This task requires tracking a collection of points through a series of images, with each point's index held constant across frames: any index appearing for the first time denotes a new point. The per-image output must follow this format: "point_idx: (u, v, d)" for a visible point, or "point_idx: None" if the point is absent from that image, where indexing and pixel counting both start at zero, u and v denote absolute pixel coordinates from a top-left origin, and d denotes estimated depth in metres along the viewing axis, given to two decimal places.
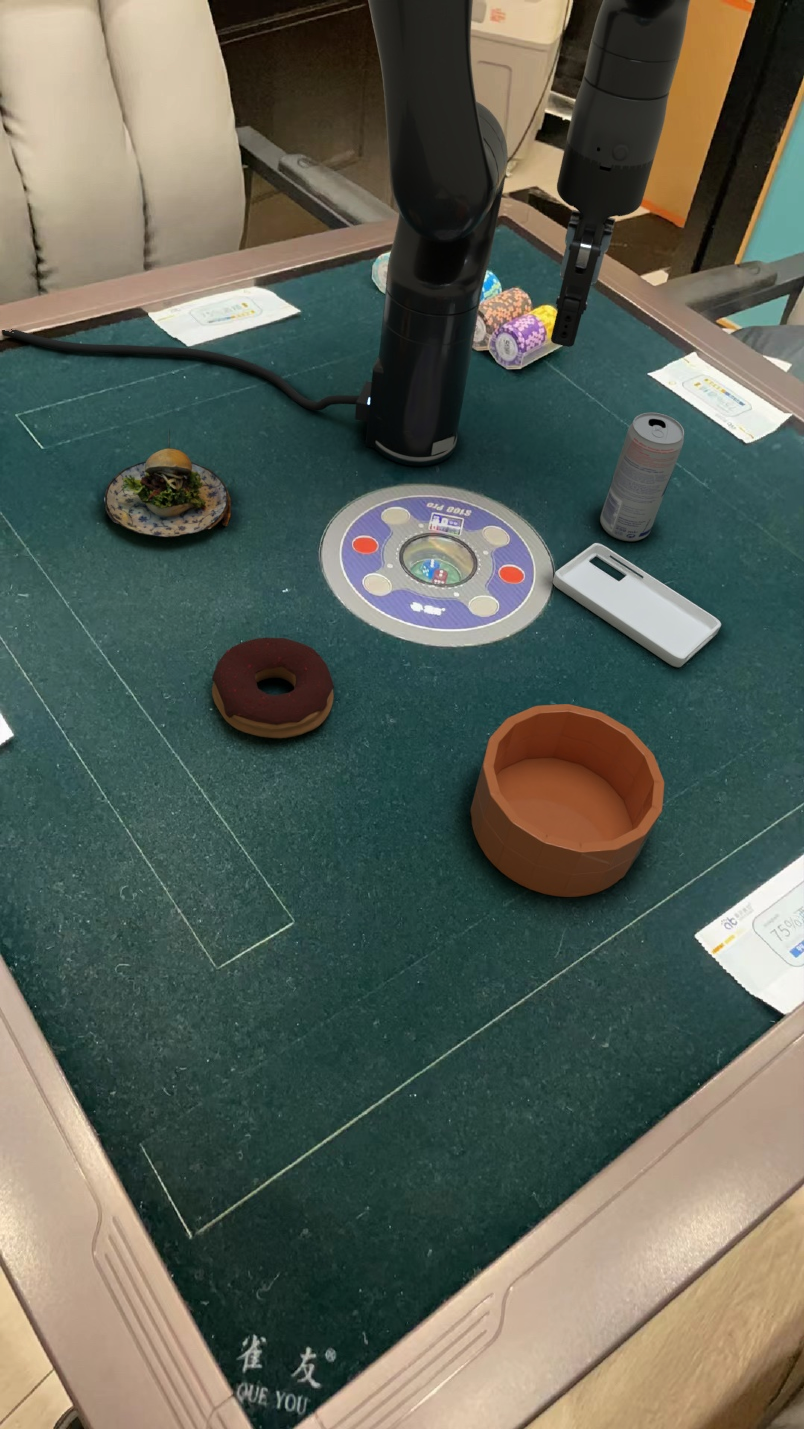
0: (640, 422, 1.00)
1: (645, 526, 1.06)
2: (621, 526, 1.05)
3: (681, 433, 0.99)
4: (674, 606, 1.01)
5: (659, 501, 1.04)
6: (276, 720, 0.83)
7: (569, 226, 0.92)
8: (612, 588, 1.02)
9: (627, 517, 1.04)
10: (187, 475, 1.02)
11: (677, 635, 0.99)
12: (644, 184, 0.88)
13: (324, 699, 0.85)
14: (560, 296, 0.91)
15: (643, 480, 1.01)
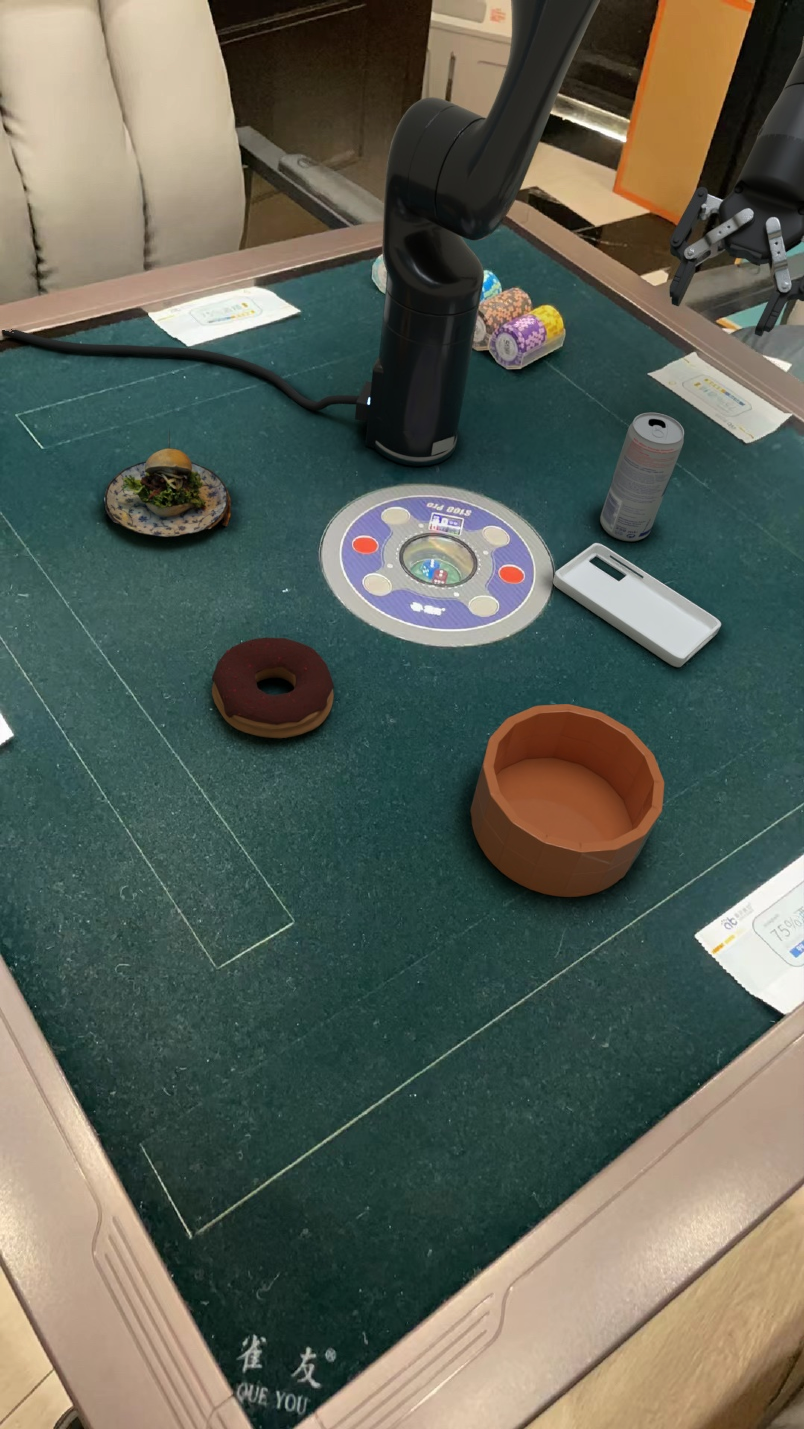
0: (640, 422, 1.00)
1: (645, 526, 1.06)
2: (621, 526, 1.05)
3: (681, 433, 0.99)
4: (674, 606, 1.01)
5: (659, 501, 1.04)
6: (276, 720, 0.83)
7: None
8: (612, 588, 1.02)
9: (627, 517, 1.04)
10: (187, 475, 1.02)
11: (677, 635, 0.99)
12: (772, 155, 0.96)
13: (324, 699, 0.85)
14: None
15: (642, 480, 1.01)
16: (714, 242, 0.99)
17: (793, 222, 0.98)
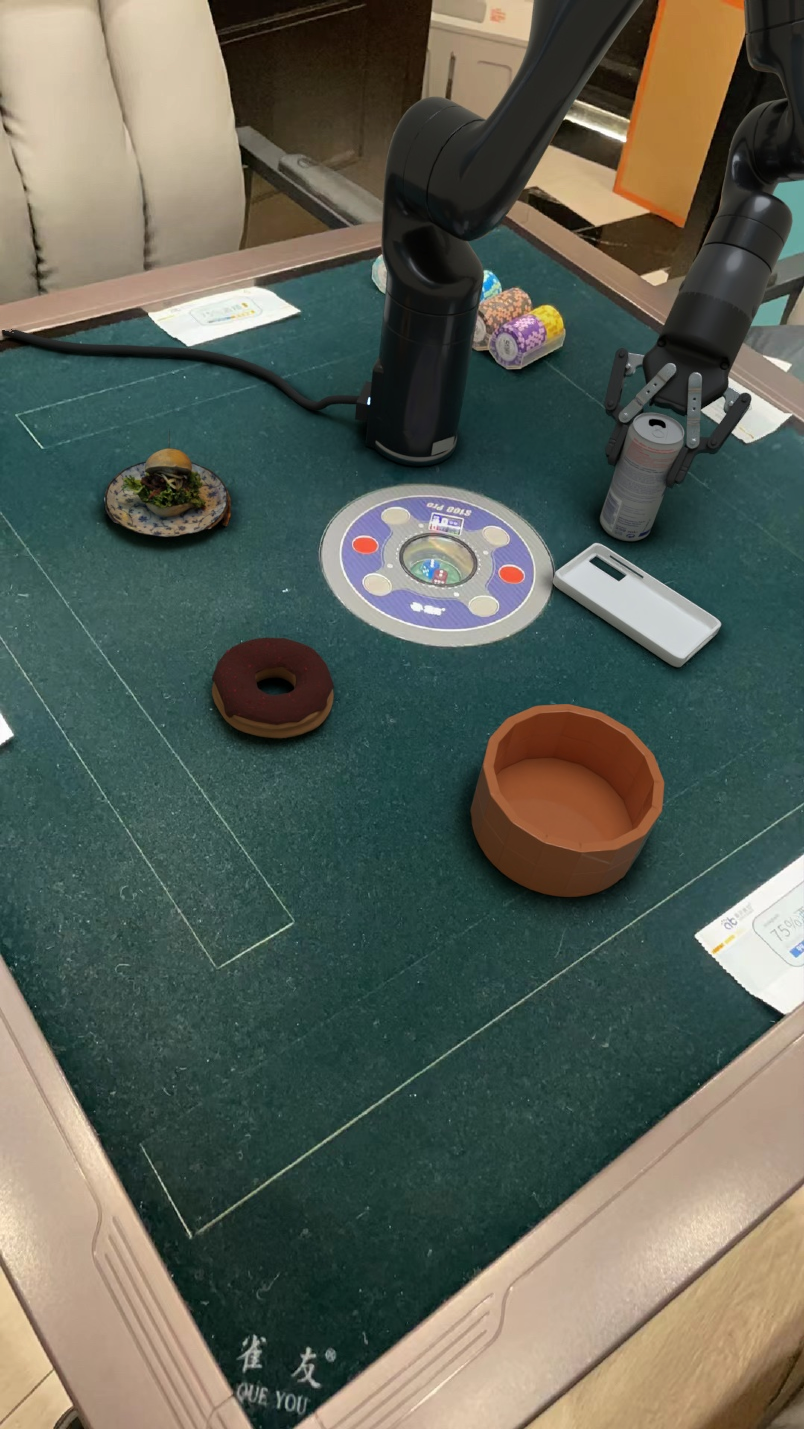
0: (640, 422, 1.00)
1: (645, 526, 1.06)
2: (621, 526, 1.05)
3: (681, 433, 0.99)
4: (674, 606, 1.01)
5: (659, 501, 1.04)
6: (276, 720, 0.83)
7: None
8: (612, 588, 1.02)
9: (627, 517, 1.04)
10: (187, 475, 1.02)
11: (677, 635, 0.99)
12: (692, 313, 0.97)
13: (324, 699, 0.85)
14: None
15: (642, 480, 1.01)
16: (645, 402, 1.00)
17: (716, 376, 0.99)
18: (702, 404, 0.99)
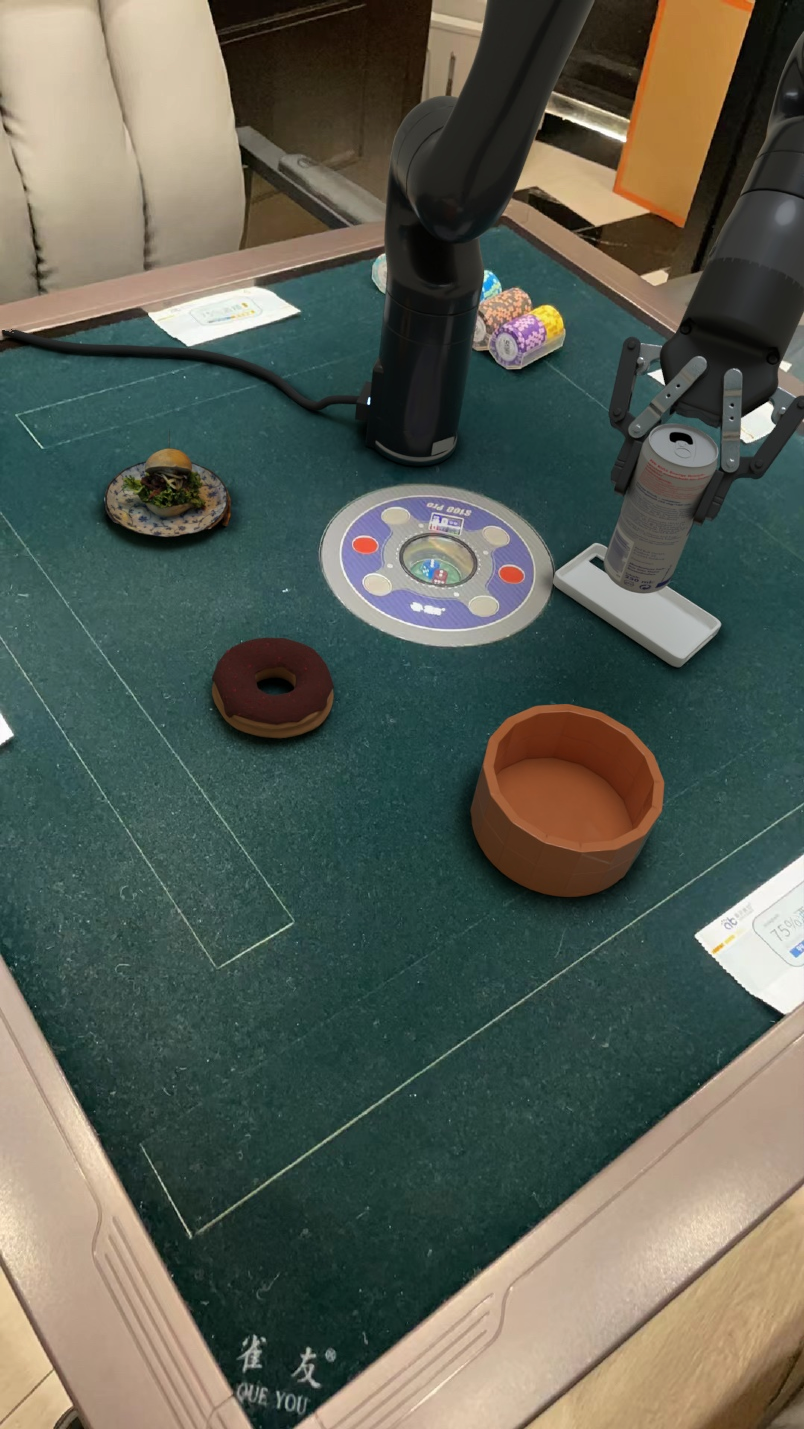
0: (658, 437, 0.73)
1: (665, 574, 0.79)
2: (633, 574, 0.79)
3: (714, 451, 0.73)
4: (674, 606, 1.01)
5: (683, 542, 0.77)
6: (276, 720, 0.83)
7: None
8: (612, 588, 1.02)
9: (641, 563, 0.78)
10: (187, 475, 1.02)
11: (677, 635, 0.99)
12: (729, 286, 0.70)
13: (324, 699, 0.85)
14: None
15: (662, 515, 0.74)
16: (665, 409, 0.73)
17: (761, 374, 0.72)
18: (742, 412, 0.73)
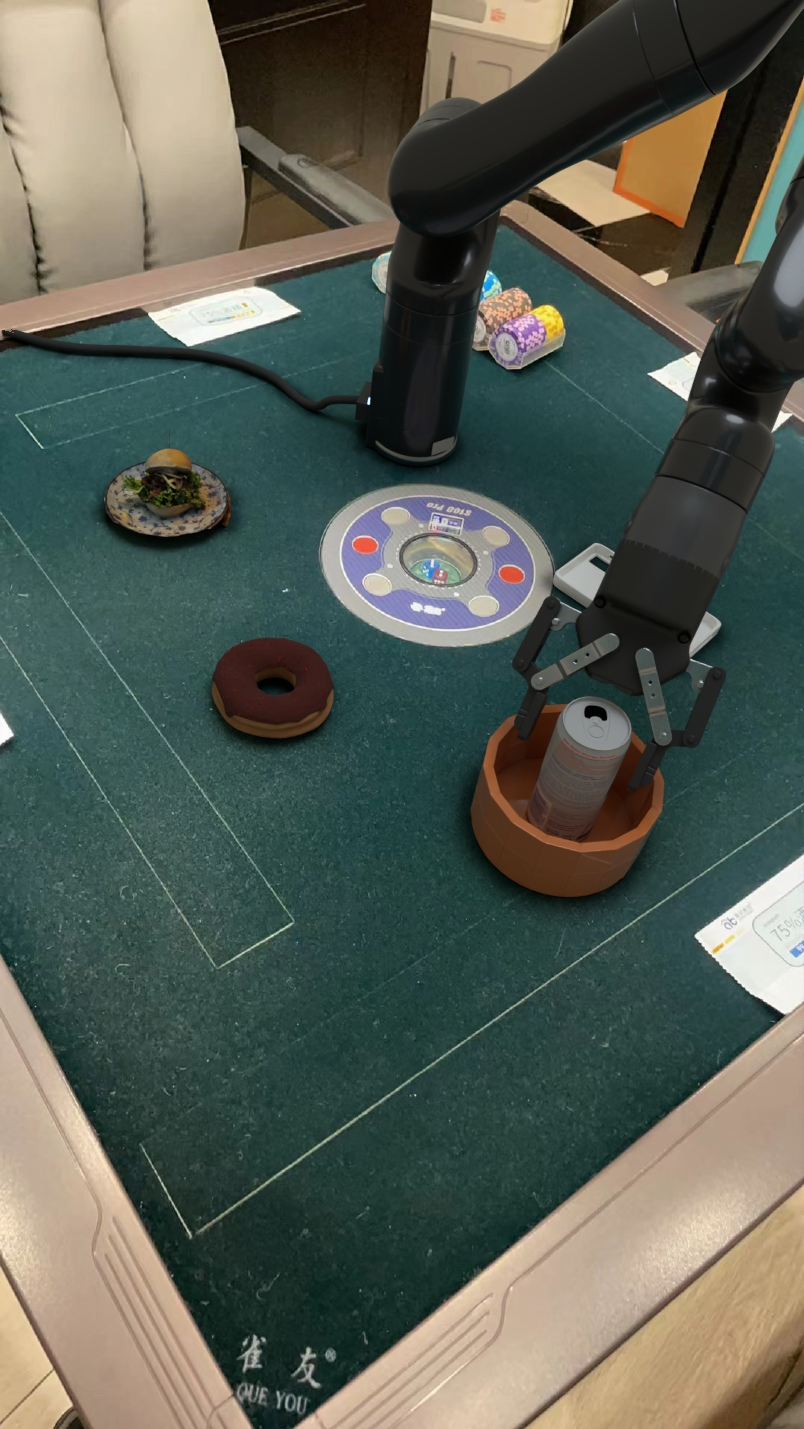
0: (573, 712, 0.75)
1: (584, 829, 0.80)
2: (553, 829, 0.80)
3: (627, 729, 0.74)
4: None
5: (601, 803, 0.79)
6: (276, 720, 0.83)
7: None
8: None
9: (559, 821, 0.79)
10: (187, 475, 1.02)
11: None
12: (640, 573, 0.71)
13: (324, 699, 0.85)
14: None
15: (577, 786, 0.76)
16: (569, 673, 0.74)
17: (672, 652, 0.73)
18: None
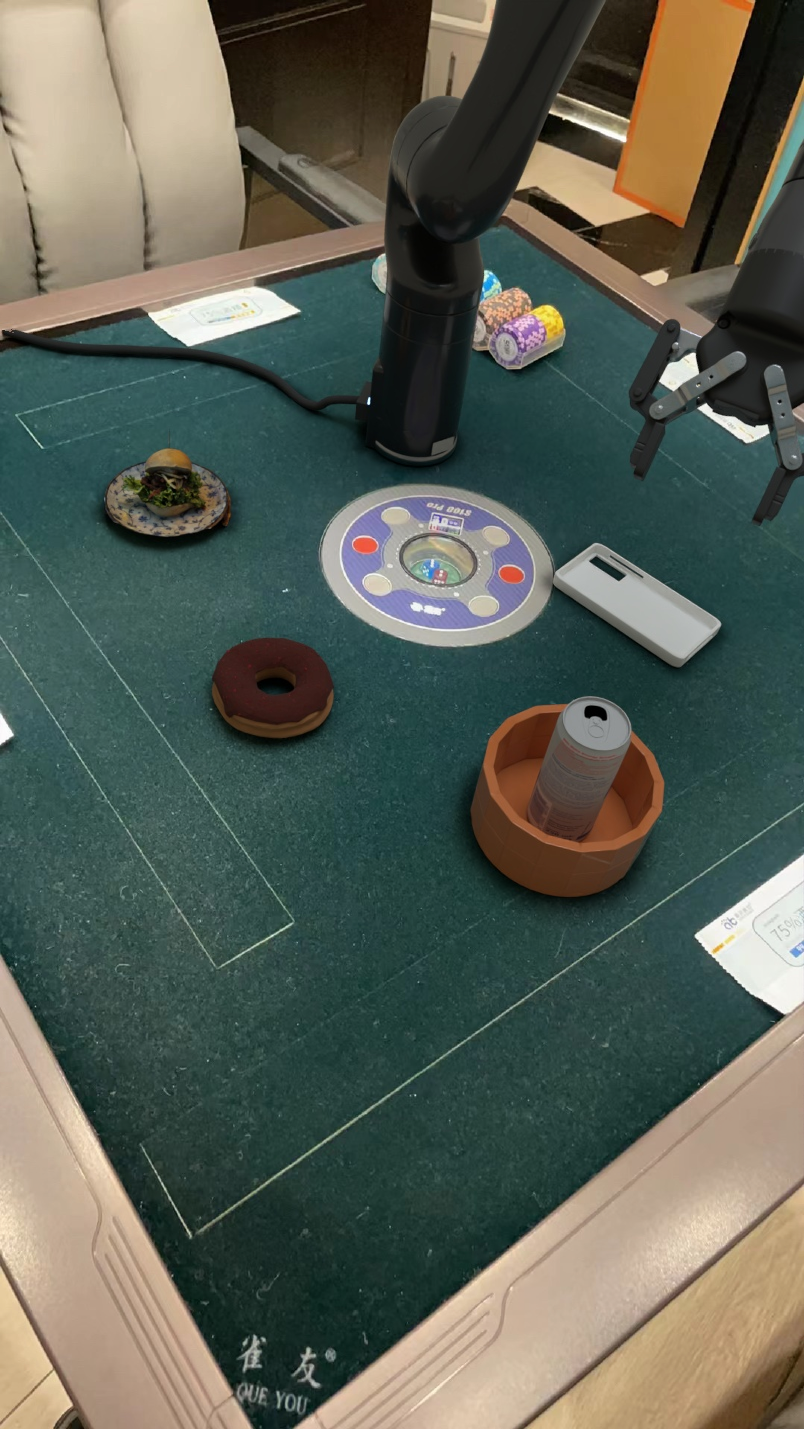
0: (573, 712, 0.75)
1: (584, 829, 0.80)
2: (553, 829, 0.80)
3: (627, 729, 0.74)
4: (674, 606, 1.01)
5: (601, 803, 0.79)
6: (276, 720, 0.83)
7: None
8: (612, 588, 1.02)
9: (559, 821, 0.79)
10: (187, 475, 1.02)
11: (677, 635, 0.99)
12: (772, 279, 0.67)
13: (324, 699, 0.85)
14: None
15: (577, 786, 0.76)
16: (691, 397, 0.70)
17: (803, 371, 0.69)
18: None
